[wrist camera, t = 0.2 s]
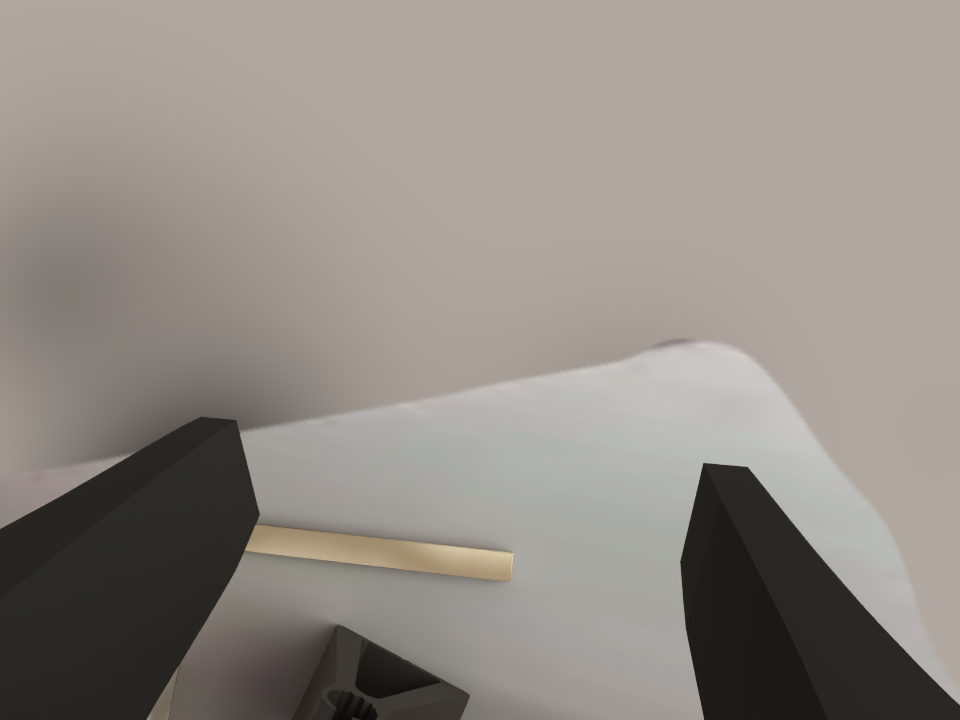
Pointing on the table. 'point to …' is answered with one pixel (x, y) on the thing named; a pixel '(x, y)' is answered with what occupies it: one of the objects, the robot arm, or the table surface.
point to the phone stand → (375, 686)
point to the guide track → (366, 563)
